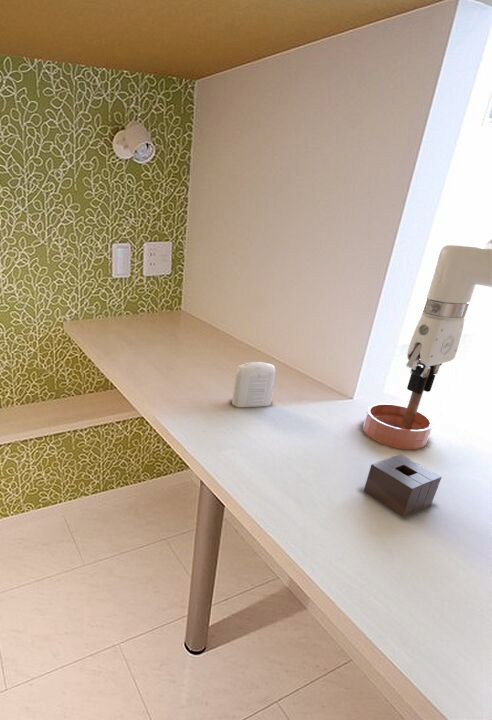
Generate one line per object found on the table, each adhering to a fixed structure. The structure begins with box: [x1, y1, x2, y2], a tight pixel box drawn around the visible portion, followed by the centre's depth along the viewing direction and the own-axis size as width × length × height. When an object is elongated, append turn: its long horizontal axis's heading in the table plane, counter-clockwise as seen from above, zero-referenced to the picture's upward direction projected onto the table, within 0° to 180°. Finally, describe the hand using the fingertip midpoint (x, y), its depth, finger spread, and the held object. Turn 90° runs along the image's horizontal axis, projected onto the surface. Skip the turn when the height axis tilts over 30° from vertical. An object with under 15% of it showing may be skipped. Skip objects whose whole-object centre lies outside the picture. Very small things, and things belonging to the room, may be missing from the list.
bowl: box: [362, 403, 434, 450], centre depth 101 cm, size 13×13×6 cm
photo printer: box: [231, 361, 276, 408], centre depth 113 cm, size 10×4×12 cm, turn 98°
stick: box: [400, 365, 431, 430], centre depth 97 cm, size 2×2×16 cm
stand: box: [363, 453, 442, 518], centre depth 79 cm, size 8×8×7 cm
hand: (418, 389), depth 96 cm, fingers closed on stick, 2 cm apart
